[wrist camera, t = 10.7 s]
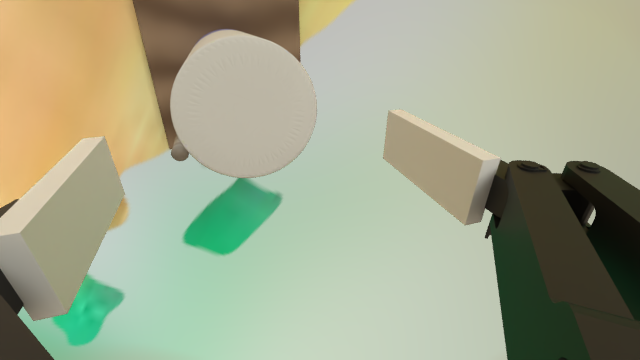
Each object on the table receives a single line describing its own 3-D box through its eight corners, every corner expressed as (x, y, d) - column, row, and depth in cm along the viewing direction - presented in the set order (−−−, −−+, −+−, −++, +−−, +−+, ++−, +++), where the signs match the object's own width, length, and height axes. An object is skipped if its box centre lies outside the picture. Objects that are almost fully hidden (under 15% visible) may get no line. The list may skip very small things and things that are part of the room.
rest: (132, -12, 33) (113, -20, 26) (295, -8, 38) (312, -14, 31) (171, 145, 41) (163, 167, 35) (299, 131, 46) (314, 149, 40)
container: (241, 127, 41) (264, 200, 24) (171, 79, 36) (138, 130, 19) (286, 67, 40) (343, 101, 23) (219, 8, 35) (229, -4, 18)
